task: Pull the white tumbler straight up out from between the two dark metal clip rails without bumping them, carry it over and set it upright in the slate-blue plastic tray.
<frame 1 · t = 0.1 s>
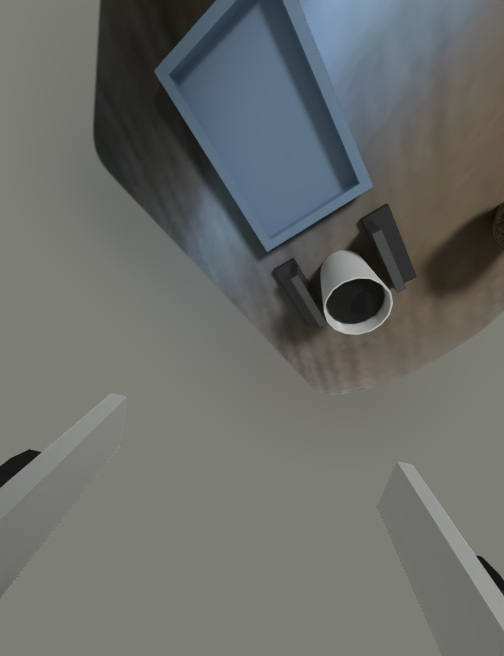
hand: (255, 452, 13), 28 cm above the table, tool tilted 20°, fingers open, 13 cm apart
white tumbler: (342, 271, 36), on the table
tray: (270, 133, 29), on the table
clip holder: (342, 271, 36), on the table
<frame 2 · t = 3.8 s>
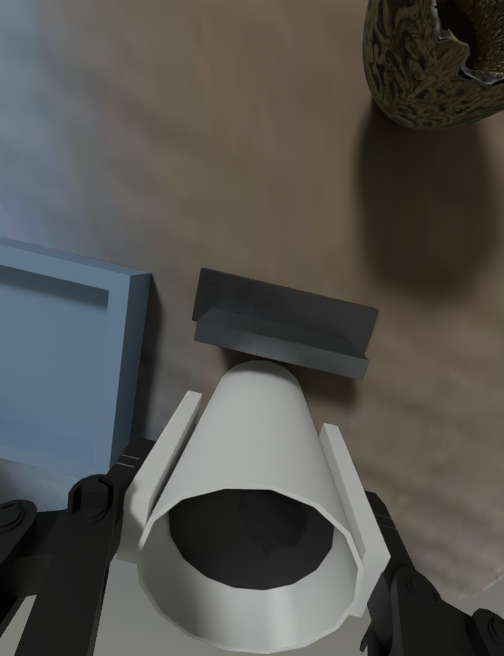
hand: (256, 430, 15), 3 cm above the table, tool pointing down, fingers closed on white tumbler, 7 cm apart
white tumbler: (259, 400, 18), on the table, touching gripper
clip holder: (258, 401, 18), on the table
cup: (404, 89, 13), on the table
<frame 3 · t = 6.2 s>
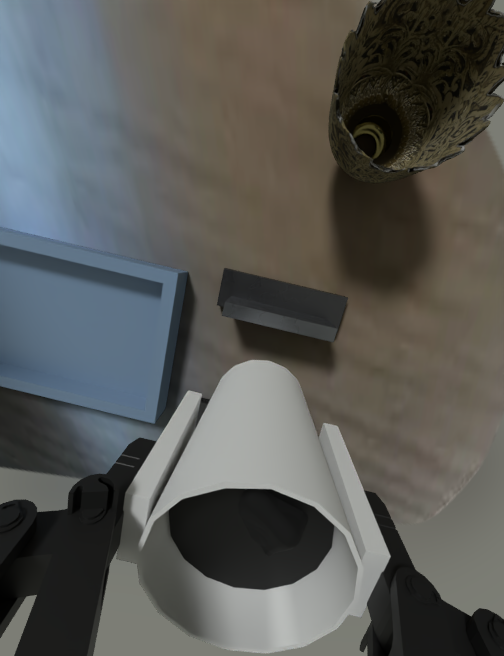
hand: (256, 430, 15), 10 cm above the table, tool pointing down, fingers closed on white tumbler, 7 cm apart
white tumbler: (259, 400, 18), point 6 cm above the table, touching gripper
tray: (67, 318, 24), on the table
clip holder: (263, 365, 24), on the table
cup: (362, 149, 20), on the table
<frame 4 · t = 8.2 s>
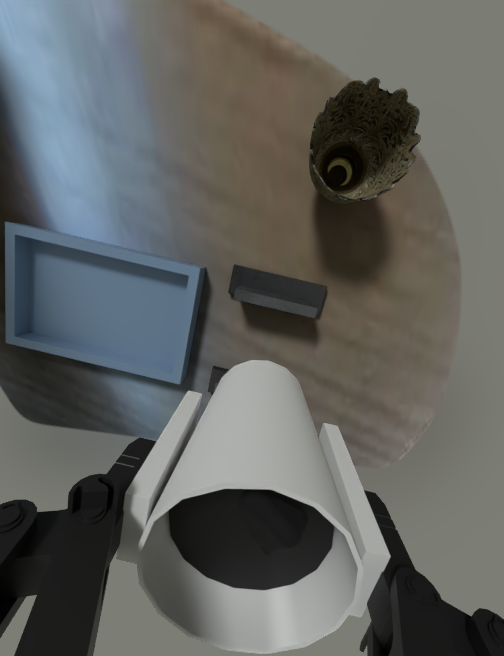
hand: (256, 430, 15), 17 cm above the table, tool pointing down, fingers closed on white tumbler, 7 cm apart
white tumbler: (259, 400, 18), point 14 cm above the table, touching gripper
tray: (110, 303, 31), on the table
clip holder: (263, 340, 31), on the table
cup: (336, 176, 27), on the table
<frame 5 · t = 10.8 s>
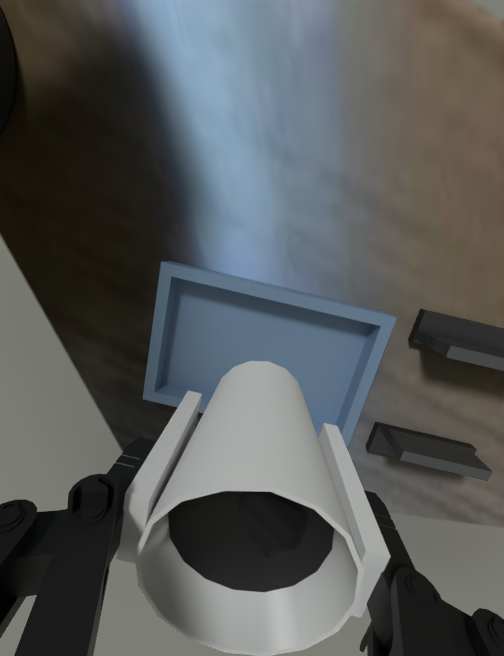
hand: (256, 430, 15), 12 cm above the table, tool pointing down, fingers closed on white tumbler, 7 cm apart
white tumbler: (259, 400, 18), point 9 cm above the table, touching gripper
tray: (261, 351, 27), on the table
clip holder: (440, 394, 27), on the table
when the fingers open (5 cm above the table, at t = 12.8 s): white tumbler drops 1 cm, resting on tray.
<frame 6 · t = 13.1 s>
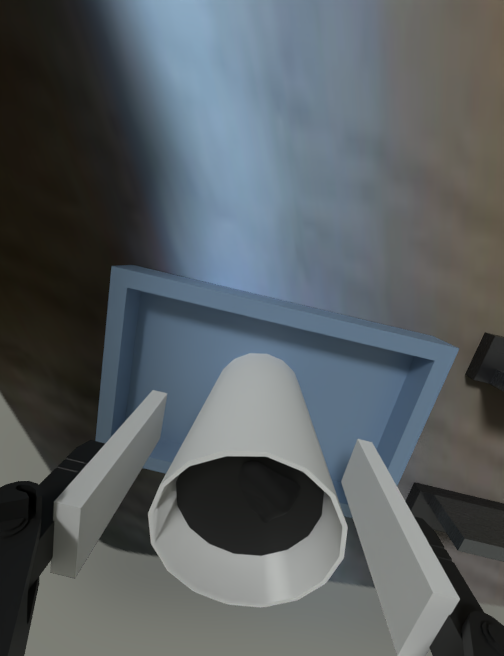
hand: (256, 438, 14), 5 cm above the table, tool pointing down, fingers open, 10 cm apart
white tumbler: (257, 391, 19), resting on tray
tray: (259, 389, 19), on the table
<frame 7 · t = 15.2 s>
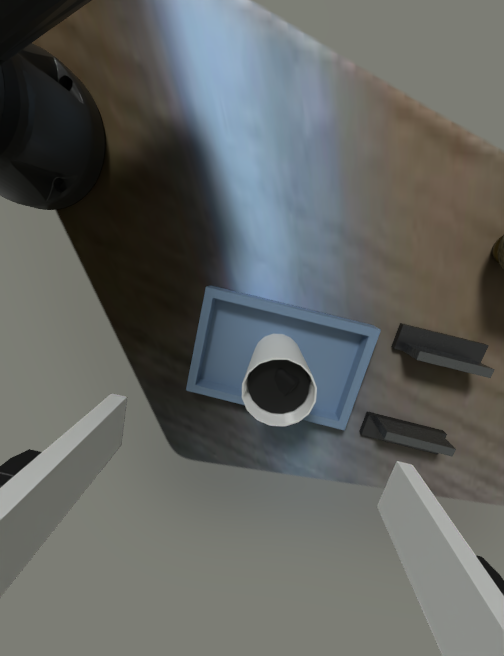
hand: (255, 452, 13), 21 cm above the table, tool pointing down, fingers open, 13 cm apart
white tumbler: (276, 355, 34), resting on tray
tray: (277, 354, 34), on the table
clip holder: (418, 389, 34), on the table
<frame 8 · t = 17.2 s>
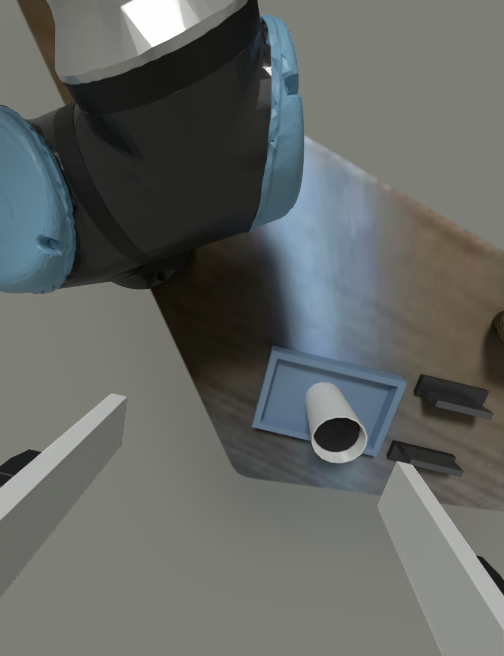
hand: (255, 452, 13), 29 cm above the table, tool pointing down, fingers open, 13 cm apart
white tumbler: (323, 398, 43), resting on tray
tray: (323, 397, 43), on the table
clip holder: (433, 423, 43), on the table
cup: (502, 320, 39), on the table
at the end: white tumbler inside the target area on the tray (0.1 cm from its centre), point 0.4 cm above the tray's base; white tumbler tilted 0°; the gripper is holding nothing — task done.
